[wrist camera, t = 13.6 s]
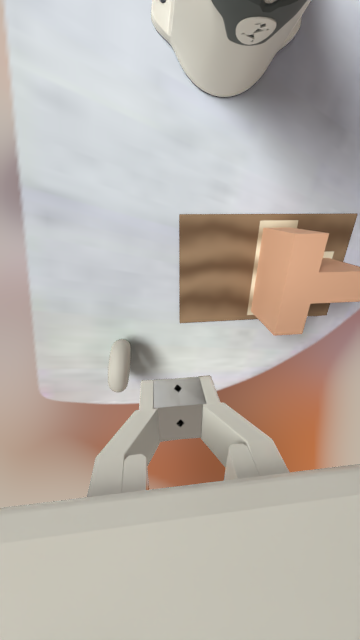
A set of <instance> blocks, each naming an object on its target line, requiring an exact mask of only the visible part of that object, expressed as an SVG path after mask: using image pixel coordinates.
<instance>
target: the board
mask: <svg viewBox="0 0 360 640" xmlns="http://www.w3.org/2000/svg"><path fill="white" fill-rule="evenodd" d="M356 218H357V214H179V236H180V323H188V322H207V321H226V320H245V319H258V318H257V317H256V316H255V315H254V314H253V313H252V312H251V308H252V301H253V294H254V287H255V281H256V274H257V267H258V261H259V254H260V247H261V241H262V234H263V228H288V227H291V228H297V229H304V230H310V231H317V232H324V233H329V236H328V240H327V244H326V247H325V251H324V255H323V258H331V259H334V260H338V261H341V262H343V260H344V257H345V253H346V250H347V247H348V244H349V240H350V237H351V234H352V231H353V227H354V224H355V221H356ZM329 305H330V303H314V304H310V307H309V311H308V314H307V316H321V315H327V312H328V309H329Z"/></svg>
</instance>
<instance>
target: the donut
mask: <svg viewBox="0 0 360 640" xmlns="http://www.w3.org/2000/svg"><path fill="white" fill-rule="evenodd" d="M130 360H131V346H130V343H129V342H128V341H127V340H125V339H119V340H117V341H116V342H114V344H113V346H112V348H111V352H110V358H109V366H108V384H109V387H110V389H111V390H112V391H114V392H122V391H124V390H125V389H126V387H127V384H128V380H129V372H130Z"/></svg>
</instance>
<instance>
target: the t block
mask: <svg viewBox="0 0 360 640" xmlns="http://www.w3.org/2000/svg"><path fill="white" fill-rule="evenodd" d="M328 236H329V233H324V232H317V231H310V230H304V229H297V228H291V227H288V228H263V234H262V241H261V247H260V254H259V261H258V267H257V274H256V281H255V287H254V294H253V301H252V308H251V312H252V313H253V314H254V315H255V316H256V317H257V318H258V319H259V320H260V321H261V322H262V323H263V324H264V325H265V326H266V328H267V329H268V330H269V331H270V332H271V333H272V334H273V335H291V334H302V333H303V329H304V325H305V322H306V318H307V314H308V311H309V307H310V304H314V303H336V302H359V301H360V267H358V266H355V265H351V264H348V263H345V262H341V261H338V260H334V259H331V258H323V255H324V251H325V247H326V244H327V240H328Z"/></svg>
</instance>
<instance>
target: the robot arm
mask: <svg viewBox="0 0 360 640" xmlns="http://www.w3.org/2000/svg"><path fill="white" fill-rule="evenodd" d="M310 2H311V0H166V2H165V3H164V4H163V3H161V2H160V0H152V7H151V20H152V23H153V25H154V27H155V29H156V30H157V31H158V32H159V33H160V35H161V36H162V37H163V38H164V39H165V40H166V41H168V42H169V43H170V45H171V46H172V48H173V50H174V52H175V54H176V56H177V58H178V60H179V62H180V64H181V66H182V68H183V70H184V71H185V73H186V74H187V76H188V77H189V78H190V80H191V81H192V82H193V83H194V84H195V85H196V86H198V87H199V88H200V89H202V90H203V91H205V92H207V93H209V94H211V95H214V96H219V97H229V96H234V95H237V94H240V93H242V92H244V91H246V90H247V89H249V88H250V87H251V86H253V85H254V84H255V83H256V82H257V81H258V80H259V79H260V77H261V76H262V75H263V74H264V72H265V71H266V69H267V68H268V66H269V64H270V62H271V61H272V59H273V57H274V56H275V55H276V53H277V52H278V51H279V50H280V49H282V48H283V47H284V46H285V45H287V44H288V43H289V42H290V41H291V40H292V39H293V38H294V36H295V35H296V33H297V32H298V30H299V28H300V25H301V16H302V14H303V13H304V11H305V10H306V8H307V6H308V5H309V3H310ZM188 438H201V439H202V440H203V441H204V443H205V444H206V445H207V446H208V447H209V448H210V450H211V451H212V452H213V453H214V454H215V456H216V457H217V458H218V459H219V460H220V462H221V463H222V464H223V465H224V466H225V468H226V470H225V476H224V481H218V482H210V483H202V484H193V485H185V486H177V487H170V488H169V487H168V488H161V489H152V490H149V482H148V471H147V466H148V464H149V462H150V461H151V459H152V457H153V455H154V453H155V451H156V449H157V447H158V445H159V443H160V442H162V441H169V440H176V439H188ZM0 640H360V464H357V465H348V466H341V467H332V468H324V469H315V470H308V471H299V472H292V473H290V472H289V471H288V469H287V467H286V465H285V463H284V461H283V459H282V457H281V455H280V453H279V451H278V449H277V447H276V446H275V444H274V442H273V440H272V439H271V438H270V437H268V436H267V435H266V434H264V433H263V432H262V431H260V430H259V429H258V428H257V427H255V426H254V425H253V424H251V423H250V422H249V421H247V420H246V419H245V418H243V417H242V416H241V415H239V414H238V413H237V412H235V411H234V410H233V409H232V408H230V407H229V406H228V405H226V404H225V403H220V400H219V397H218V395H217V392H216V389H215V386H214V383H213V381H212V378H211V376H210V375H208V376H199V377H188V378H175V379H156V380H154V381H153V380H142V381H141V387H140V404H139V410H136V411H135V412H134V413H133V414H132V416H130V418H129V419H128V420H127V421H126V422H125V424H124V425H123V426H122V427H121V428H120V429H119V431H118V432H117V433H116V434H115V435H114V437H113V438H112V439H111V440H110V441H109V443H108V444H107V445H106V446H105V447H104V449H103V450H102V451H101V452H100V453H99V454H98V456H97V457H96V459H95V464H94V468H93V472H92V477H91V481H90V486H89V490H88V495H87V497H86V498H78V499H70V500H61V501H53V502H46V503H37V504H29V505H20V506H12V507H4V508H0Z"/></svg>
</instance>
